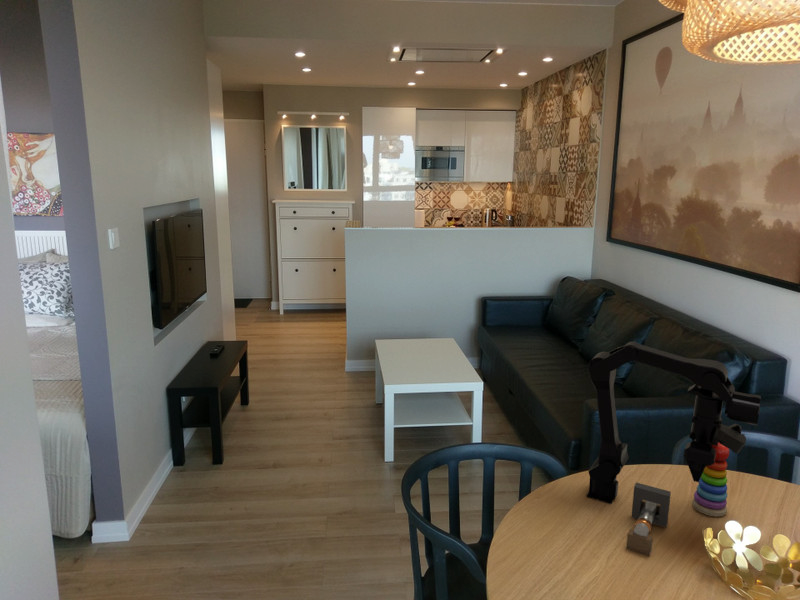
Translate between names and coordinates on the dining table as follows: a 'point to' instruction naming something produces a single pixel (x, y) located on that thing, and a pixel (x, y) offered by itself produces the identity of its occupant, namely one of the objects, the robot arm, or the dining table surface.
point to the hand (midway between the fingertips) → (698, 473)
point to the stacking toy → (713, 485)
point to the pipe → (643, 529)
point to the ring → (652, 496)
